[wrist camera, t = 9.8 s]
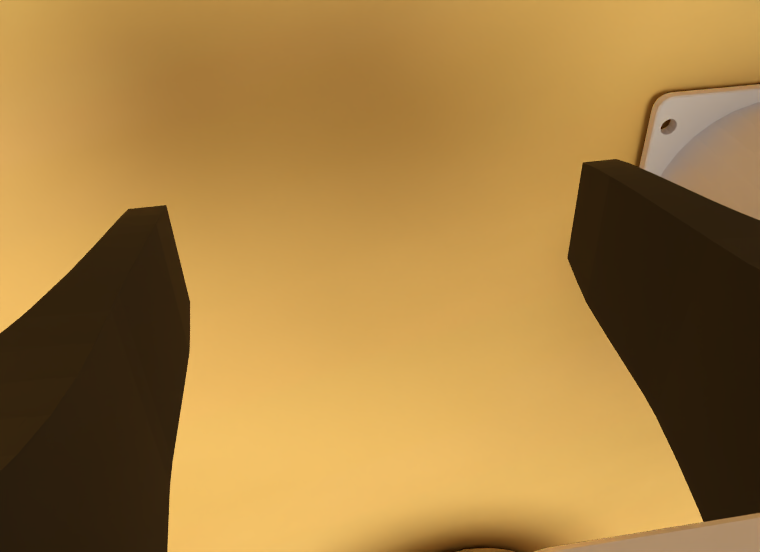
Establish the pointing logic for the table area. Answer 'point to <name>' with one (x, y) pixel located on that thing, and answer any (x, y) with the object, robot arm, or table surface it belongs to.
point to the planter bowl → (485, 550)
